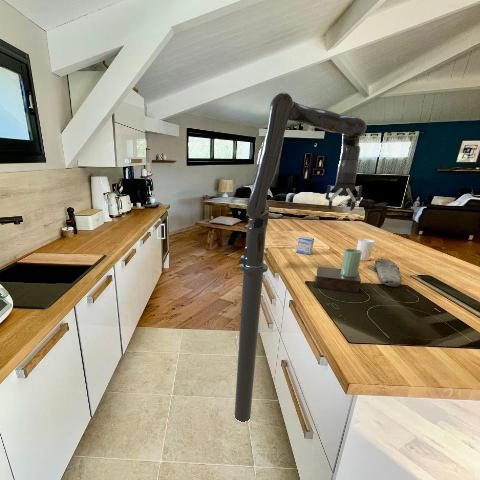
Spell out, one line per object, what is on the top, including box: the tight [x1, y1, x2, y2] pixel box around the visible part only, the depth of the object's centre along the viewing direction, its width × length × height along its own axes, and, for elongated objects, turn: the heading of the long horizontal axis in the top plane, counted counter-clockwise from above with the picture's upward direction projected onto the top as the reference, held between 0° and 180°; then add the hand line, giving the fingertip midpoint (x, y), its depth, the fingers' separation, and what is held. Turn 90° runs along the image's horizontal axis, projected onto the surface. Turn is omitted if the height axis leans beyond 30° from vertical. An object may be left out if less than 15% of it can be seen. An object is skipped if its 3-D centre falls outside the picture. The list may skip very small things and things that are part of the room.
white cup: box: [356, 238, 376, 262], centre depth 165 cm, size 8×8×10 cm
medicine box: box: [295, 236, 315, 256], centre depth 177 cm, size 8×4×9 cm, turn 55°
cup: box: [340, 248, 362, 277], centre depth 127 cm, size 6×6×10 cm
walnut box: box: [314, 265, 362, 294], centre depth 131 cm, size 16×14×5 cm
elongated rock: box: [374, 257, 403, 288], centre depth 142 cm, size 35×5×10 cm
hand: (340, 209), depth 140 cm, fingers open, 8 cm apart
